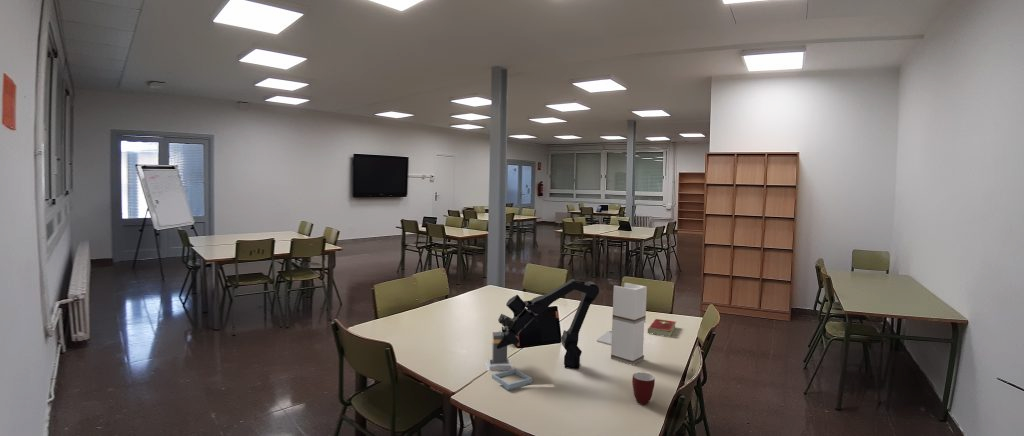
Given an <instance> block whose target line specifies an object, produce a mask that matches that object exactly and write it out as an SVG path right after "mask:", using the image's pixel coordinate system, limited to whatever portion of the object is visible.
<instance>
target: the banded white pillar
mask: <svg viewBox="0 0 1024 436" xmlns="http://www.w3.org/2000/svg"><path fill="white" fill-rule="evenodd" d="M623 284H624V285H623V286H619V285H613V293H612V294H613V295H612V296H613V299H612V318H611V319H612V323H611V324H612V325H611V331H612V343H611V345H610V359H611V360H614V361H617V360H618V362H620V361H621V363H623V362H625V363H624V364H627V363H628V364H627V365H630V364H631V365H630V366H634V365H636V364H638V363H640V362H641V360H642V361H643V359H645V355H644V337H645V336H644V335H645V323H646V319H647V318H646V317H647V316H646V315H647V314H646V313H647V296H648V295H647V293H648V292H647V291H648V286H646V285H645V286H644V285H641V284H636V283H635V284H634V283H630V282H624V283H623ZM639 361H640V362H639ZM637 362H638V363H637ZM635 363H636V364H635ZM633 364H634V365H633Z"/></svg>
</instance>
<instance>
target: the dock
mask: <svg viewBox="0 0 1024 436" xmlns="http://www.w3.org/2000/svg"><path fill="white" fill-rule="evenodd" d="M484 363H485V365H484V366H485V369H486V371H487V372H490V371H492V372H493V371H508V370H512V369H515V367H514V365H513V362H512V361H511V360H510V359H509V358H507V362H506V363H493V360H492V358H490V359H487V361H485V362H484Z"/></svg>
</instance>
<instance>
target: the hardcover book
mask: <svg viewBox="0 0 1024 436" xmlns="http://www.w3.org/2000/svg"><path fill="white" fill-rule="evenodd" d="M676 323H677V321H673V320H667V319H660V318H655V319H654V321H653V322H652V323H651V324H650V326H649V327H648V328H647V334H648V333H653V334H652V335H654V334H658V335H657V336H660V335H664V336H663V337H666V336H670V337H671V335H672V334H673V332H672V331H674V330H675V328H676Z"/></svg>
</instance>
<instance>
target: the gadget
mask: <svg viewBox="0 0 1024 436" xmlns="http://www.w3.org/2000/svg"><path fill="white" fill-rule="evenodd" d="M596 342H597V343H602V344H604V345H609V346H611V343H612V330H609V331H606V332H605V333H604V334H603V335H601V336H600V337H599V338H597V340H596Z"/></svg>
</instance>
